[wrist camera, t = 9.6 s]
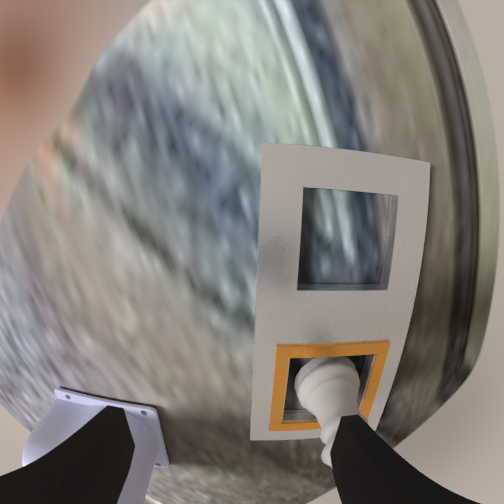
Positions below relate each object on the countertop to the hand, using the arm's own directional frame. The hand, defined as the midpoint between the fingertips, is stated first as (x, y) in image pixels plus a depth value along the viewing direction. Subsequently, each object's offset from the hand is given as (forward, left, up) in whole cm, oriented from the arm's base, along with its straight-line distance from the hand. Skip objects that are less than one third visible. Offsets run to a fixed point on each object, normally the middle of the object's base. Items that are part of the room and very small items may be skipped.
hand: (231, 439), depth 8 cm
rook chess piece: (+6, -5, -10) cm, 13 cm away
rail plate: (+6, 0, -10) cm, 12 cm away
